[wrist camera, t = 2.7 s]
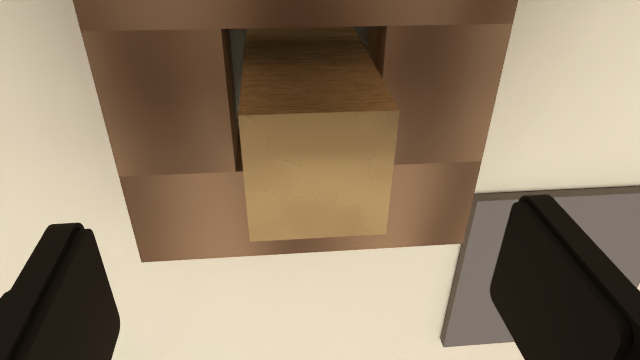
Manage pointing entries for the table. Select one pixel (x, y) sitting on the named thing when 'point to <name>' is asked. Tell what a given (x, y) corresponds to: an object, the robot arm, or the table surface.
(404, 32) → the socket block
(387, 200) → the wooden block
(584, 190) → the rubber mat
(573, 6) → the table surface
